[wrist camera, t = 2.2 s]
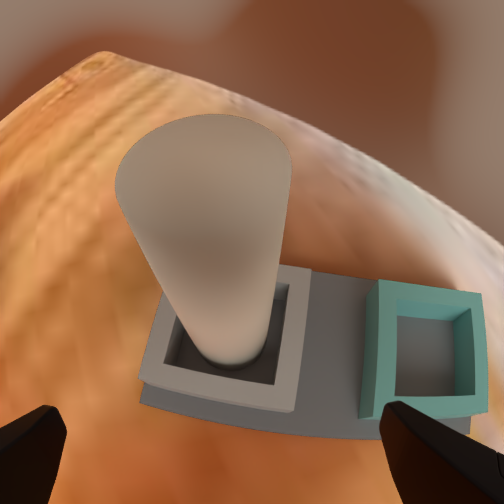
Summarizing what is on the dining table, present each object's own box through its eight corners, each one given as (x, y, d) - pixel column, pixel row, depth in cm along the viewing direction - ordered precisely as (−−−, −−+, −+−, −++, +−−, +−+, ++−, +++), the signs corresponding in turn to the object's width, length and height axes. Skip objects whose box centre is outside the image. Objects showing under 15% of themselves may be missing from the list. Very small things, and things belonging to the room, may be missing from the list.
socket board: (144, 404, 18) (124, 398, 15) (185, 258, 24) (176, 230, 21) (461, 434, 16) (491, 430, 13) (459, 298, 22) (482, 278, 19)
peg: (220, 384, 18) (158, 276, 6) (183, 327, 20) (96, 157, 8) (280, 344, 19) (329, 180, 7) (240, 291, 21) (229, 99, 9)
